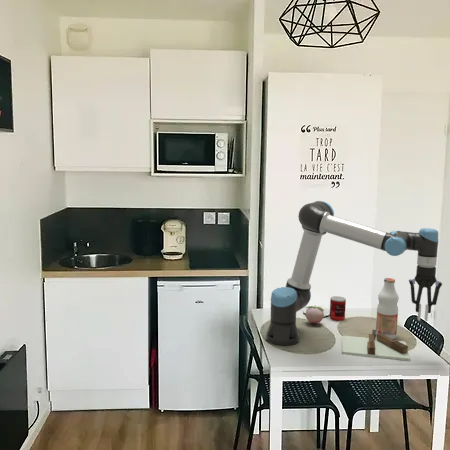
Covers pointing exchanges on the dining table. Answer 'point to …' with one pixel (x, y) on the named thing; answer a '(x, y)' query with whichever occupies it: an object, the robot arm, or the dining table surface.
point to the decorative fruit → (314, 314)
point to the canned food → (337, 308)
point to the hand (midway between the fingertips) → (422, 319)
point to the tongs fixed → (371, 343)
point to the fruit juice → (387, 310)
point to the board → (360, 348)
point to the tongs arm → (392, 343)
